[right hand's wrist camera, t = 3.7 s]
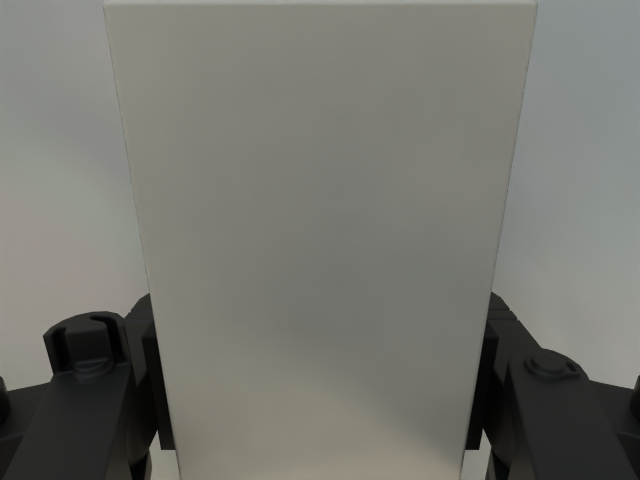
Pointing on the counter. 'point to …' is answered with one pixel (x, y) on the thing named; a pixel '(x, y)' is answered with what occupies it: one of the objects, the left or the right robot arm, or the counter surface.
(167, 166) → the beam
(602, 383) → the right robot arm
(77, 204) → the counter surface
